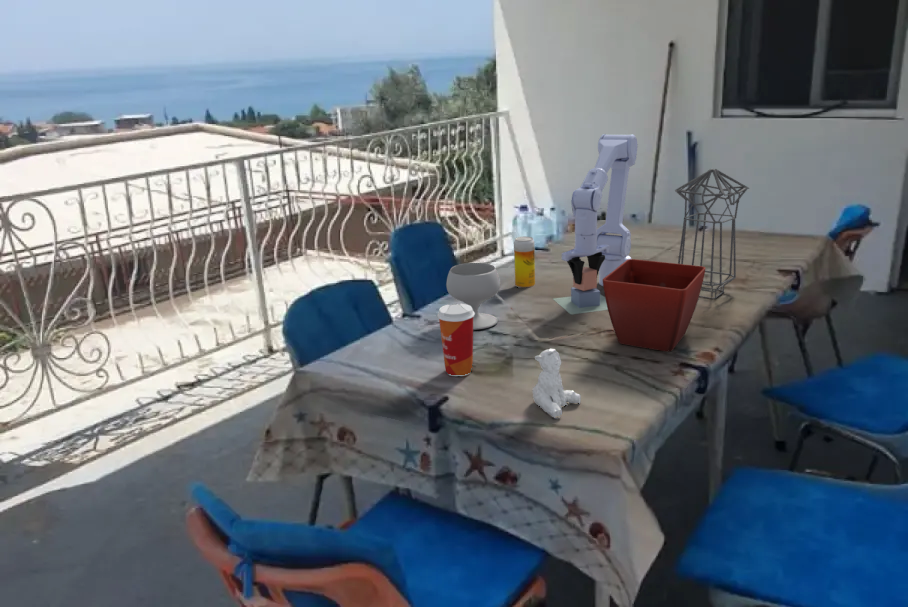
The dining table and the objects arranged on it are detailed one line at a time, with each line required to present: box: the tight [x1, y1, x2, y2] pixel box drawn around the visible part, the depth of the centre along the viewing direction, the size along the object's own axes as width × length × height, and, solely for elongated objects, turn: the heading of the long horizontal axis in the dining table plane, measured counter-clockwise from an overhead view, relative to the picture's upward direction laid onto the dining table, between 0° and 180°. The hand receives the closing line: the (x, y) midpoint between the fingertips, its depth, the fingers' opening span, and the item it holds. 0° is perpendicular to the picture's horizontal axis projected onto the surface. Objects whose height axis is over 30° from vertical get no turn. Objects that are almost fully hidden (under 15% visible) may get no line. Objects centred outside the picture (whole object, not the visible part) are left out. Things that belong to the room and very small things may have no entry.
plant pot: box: [602, 258, 707, 352], centre depth 169 cm, size 19×19×17 cm
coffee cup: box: [436, 303, 475, 375], centre depth 157 cm, size 8×8×15 cm
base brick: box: [570, 286, 601, 308], centre depth 196 cm, size 6×6×4 cm
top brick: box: [572, 266, 598, 291], centre depth 194 cm, size 4×4×5 cm
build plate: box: [552, 293, 608, 315], centre depth 196 cm, size 14×14×1 cm
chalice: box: [445, 262, 501, 331], centre depth 186 cm, size 14×14×15 cm
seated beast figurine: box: [531, 348, 582, 419], centre depth 140 cm, size 10×9×12 cm
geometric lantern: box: [674, 168, 750, 300], centre depth 196 cm, size 16×16×35 cm
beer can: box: [513, 236, 536, 289], centre depth 213 cm, size 6×6×15 cm
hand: (585, 281), depth 194 cm, fingers closed on top brick, 4 cm apart
